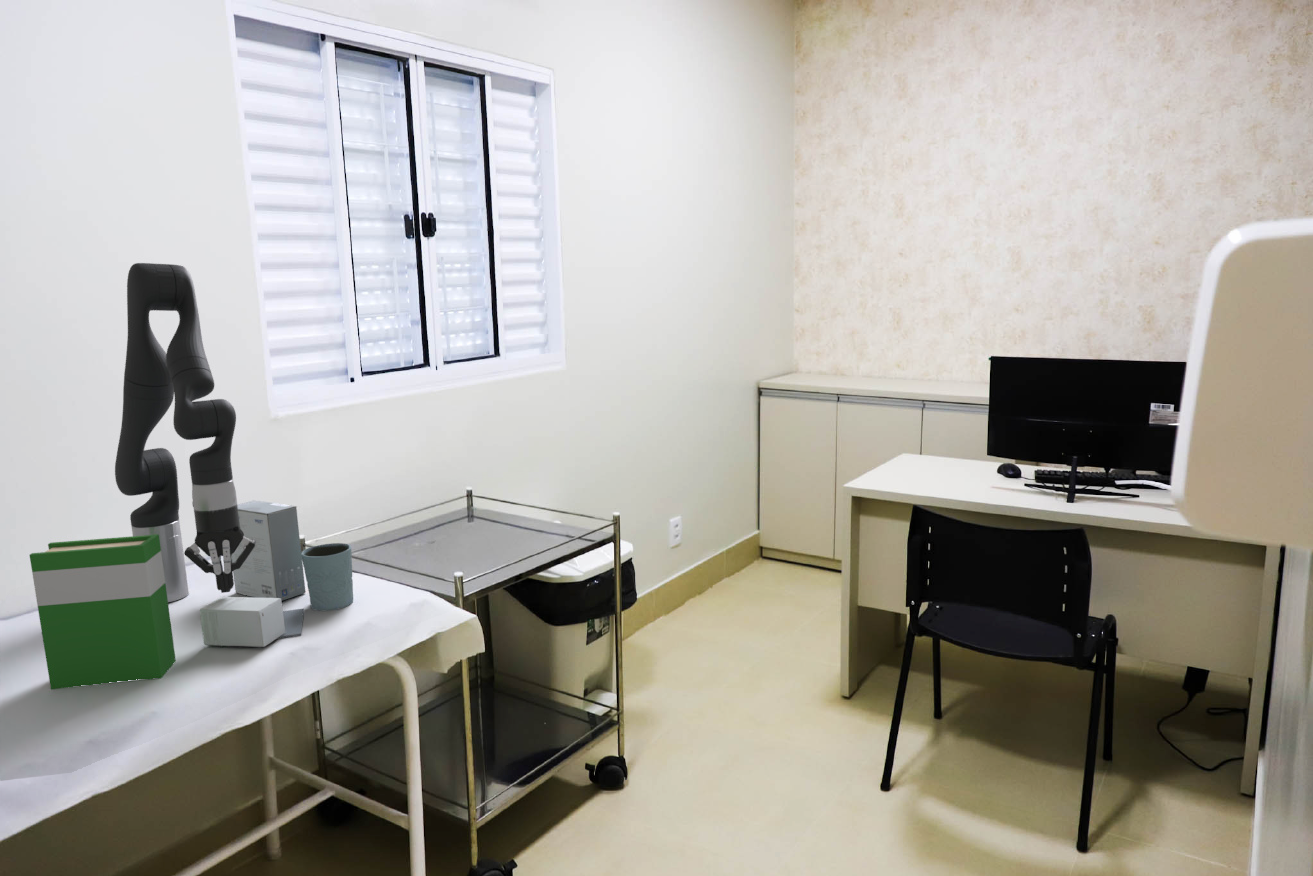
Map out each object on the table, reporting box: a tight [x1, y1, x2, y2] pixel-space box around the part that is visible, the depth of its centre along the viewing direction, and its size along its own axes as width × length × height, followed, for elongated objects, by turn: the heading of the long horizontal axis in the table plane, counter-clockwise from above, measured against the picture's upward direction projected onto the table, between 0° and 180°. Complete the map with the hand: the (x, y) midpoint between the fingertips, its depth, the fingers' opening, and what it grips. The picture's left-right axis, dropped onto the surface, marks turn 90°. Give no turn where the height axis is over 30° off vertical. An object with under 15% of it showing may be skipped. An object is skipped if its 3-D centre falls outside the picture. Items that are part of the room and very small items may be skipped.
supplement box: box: [199, 596, 285, 648], centre depth 173 cm, size 7×7×13 cm
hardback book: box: [29, 534, 177, 690], centre depth 158 cm, size 18×7×24 cm, turn 100°
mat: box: [278, 607, 305, 639], centre depth 181 cm, size 15×14×1 cm
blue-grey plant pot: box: [301, 542, 354, 611], centre depth 192 cm, size 10×10×12 cm
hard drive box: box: [232, 500, 307, 601], centre depth 200 cm, size 16×8×20 cm, turn 58°
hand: (226, 591), depth 176 cm, fingers closed
